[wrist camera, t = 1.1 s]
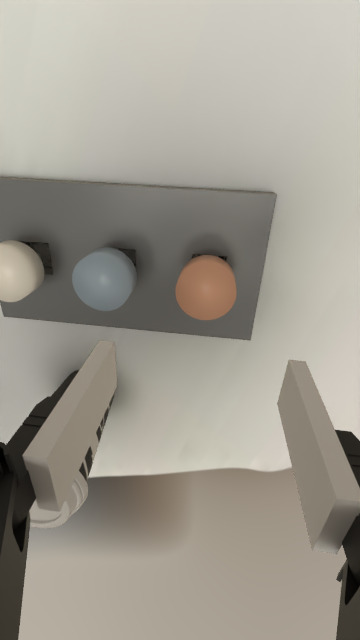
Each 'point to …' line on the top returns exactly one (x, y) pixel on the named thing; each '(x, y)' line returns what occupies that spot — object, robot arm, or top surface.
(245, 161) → the top surface
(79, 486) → the coffee cup
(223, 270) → the button terracotta
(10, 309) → the panel
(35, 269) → the button cream
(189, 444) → the top surface
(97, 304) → the button blue
